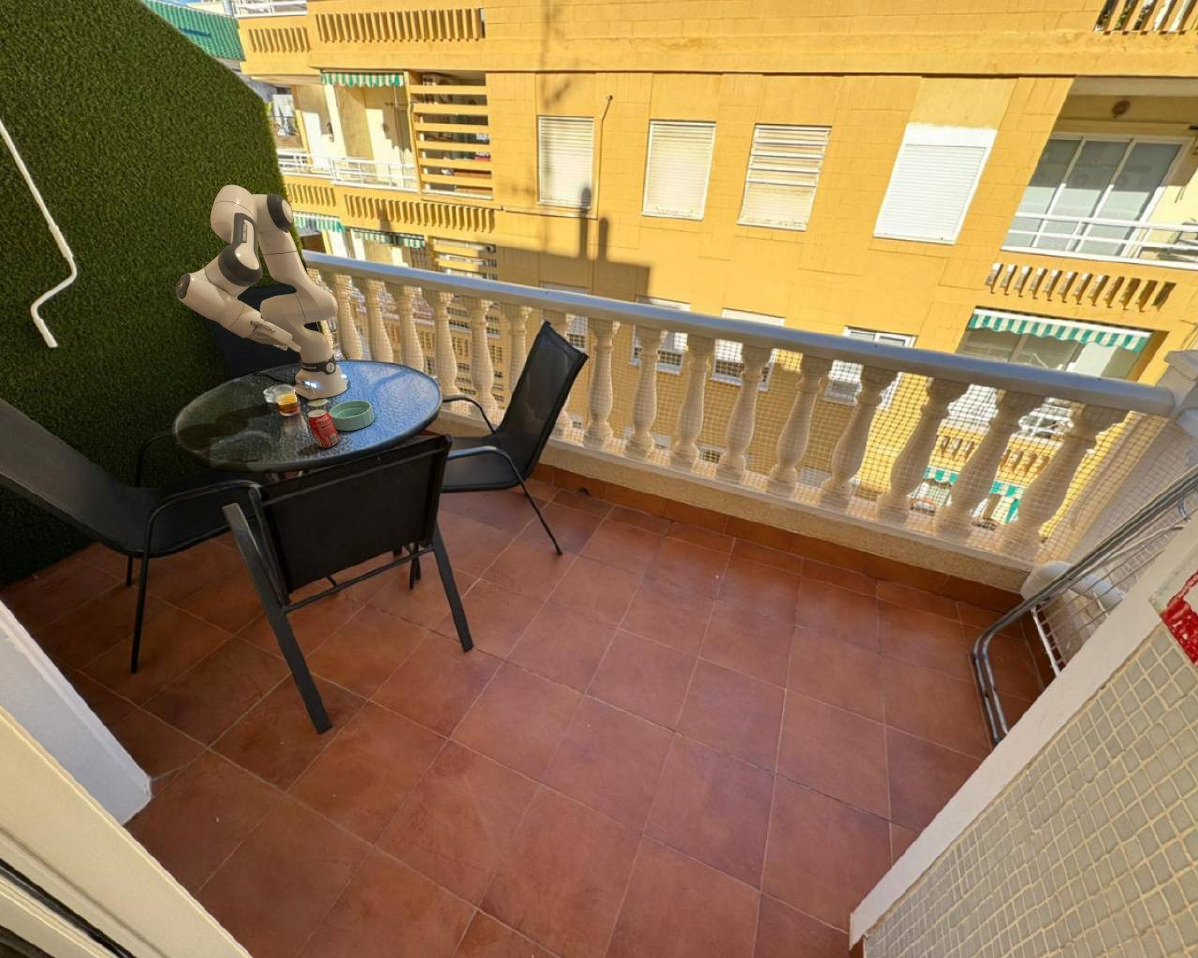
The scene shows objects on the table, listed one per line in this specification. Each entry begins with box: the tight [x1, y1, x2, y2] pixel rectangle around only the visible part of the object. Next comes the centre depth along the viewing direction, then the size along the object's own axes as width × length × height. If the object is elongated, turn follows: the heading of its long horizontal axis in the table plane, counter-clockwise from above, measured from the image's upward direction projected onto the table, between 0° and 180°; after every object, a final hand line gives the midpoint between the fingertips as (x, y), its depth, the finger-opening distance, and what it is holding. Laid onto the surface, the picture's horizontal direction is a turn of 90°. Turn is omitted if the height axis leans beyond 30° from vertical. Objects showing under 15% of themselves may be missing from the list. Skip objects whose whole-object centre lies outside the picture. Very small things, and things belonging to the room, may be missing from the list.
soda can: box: [307, 408, 340, 449], centre depth 168 cm, size 7×7×12 cm
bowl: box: [328, 399, 376, 432], centre depth 182 cm, size 14×14×6 cm
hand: (292, 349), depth 153 cm, fingers open, 8 cm apart
